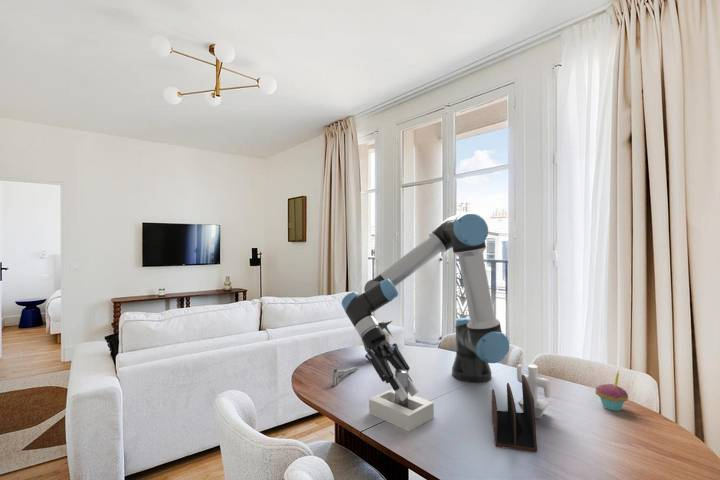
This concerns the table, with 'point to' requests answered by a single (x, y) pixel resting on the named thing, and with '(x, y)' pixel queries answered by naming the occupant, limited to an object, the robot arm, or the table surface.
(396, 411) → the block
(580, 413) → the table surface
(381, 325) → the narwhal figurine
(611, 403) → the cupcake
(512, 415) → the letter holder
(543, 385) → the figurine
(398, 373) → the pin
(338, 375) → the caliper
